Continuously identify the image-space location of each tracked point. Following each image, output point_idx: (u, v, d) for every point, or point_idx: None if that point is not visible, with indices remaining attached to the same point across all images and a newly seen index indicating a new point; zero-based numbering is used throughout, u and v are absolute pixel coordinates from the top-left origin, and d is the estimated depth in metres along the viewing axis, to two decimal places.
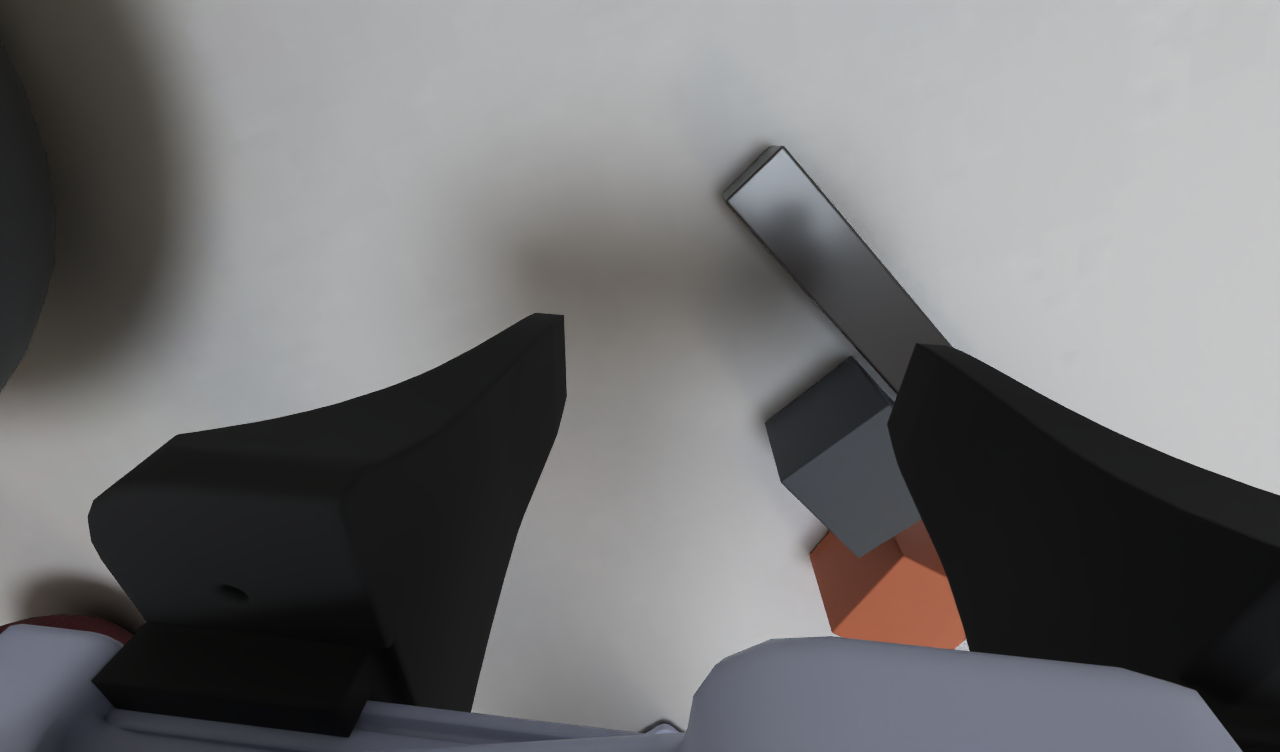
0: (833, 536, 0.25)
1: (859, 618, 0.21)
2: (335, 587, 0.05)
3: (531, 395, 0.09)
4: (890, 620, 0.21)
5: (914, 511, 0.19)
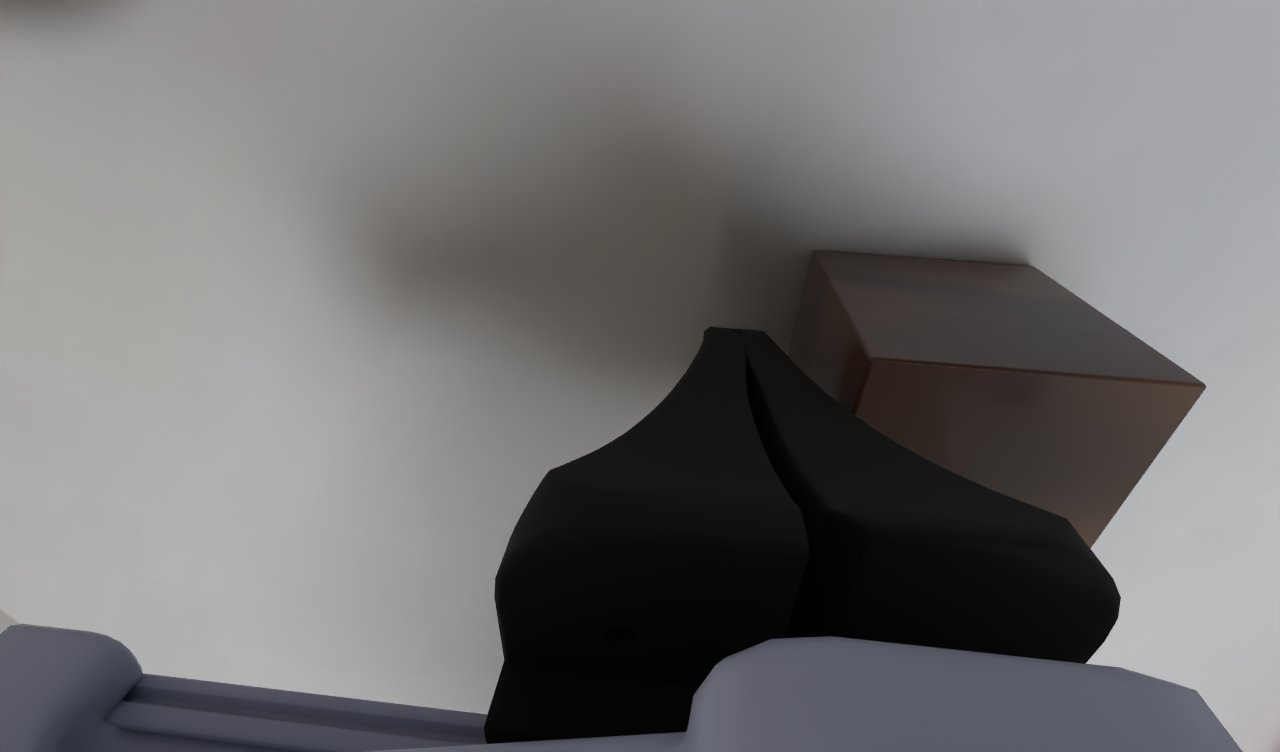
0: None
1: None
2: (749, 632, 0.05)
3: None
4: None
5: None
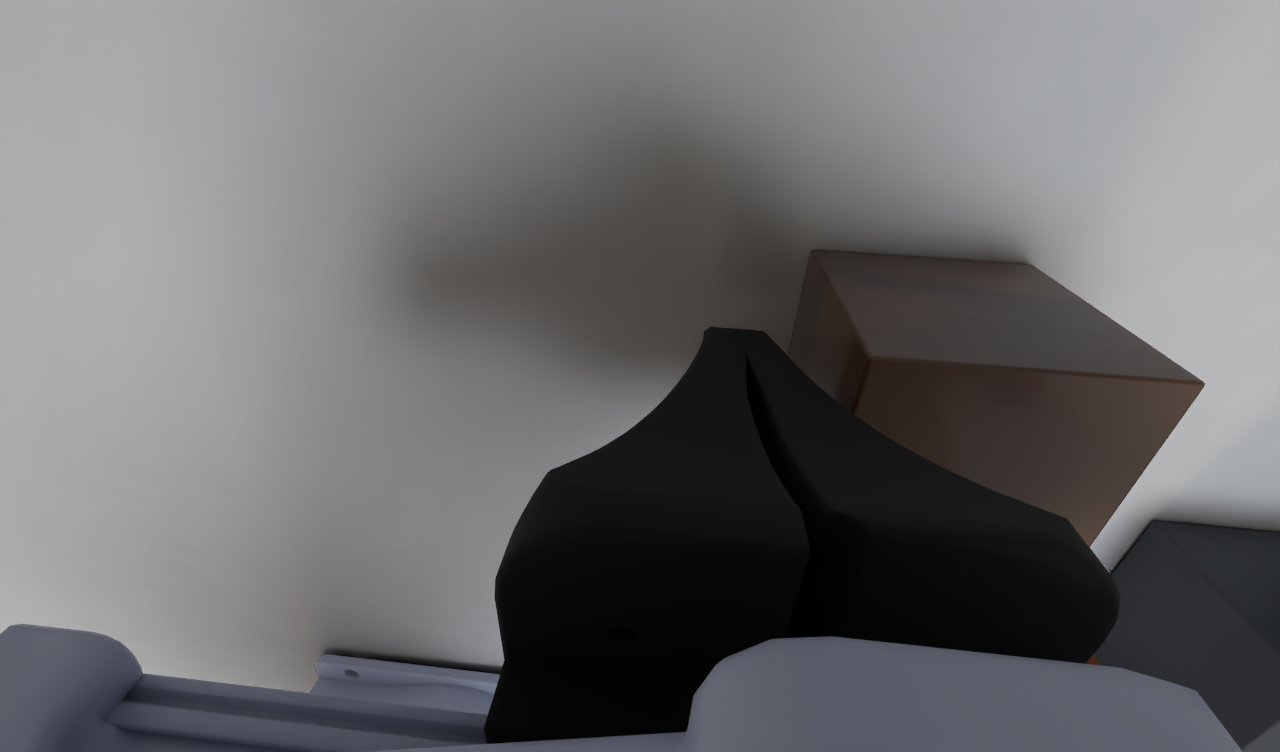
0: None
1: None
2: (750, 632, 0.05)
3: None
4: None
5: None
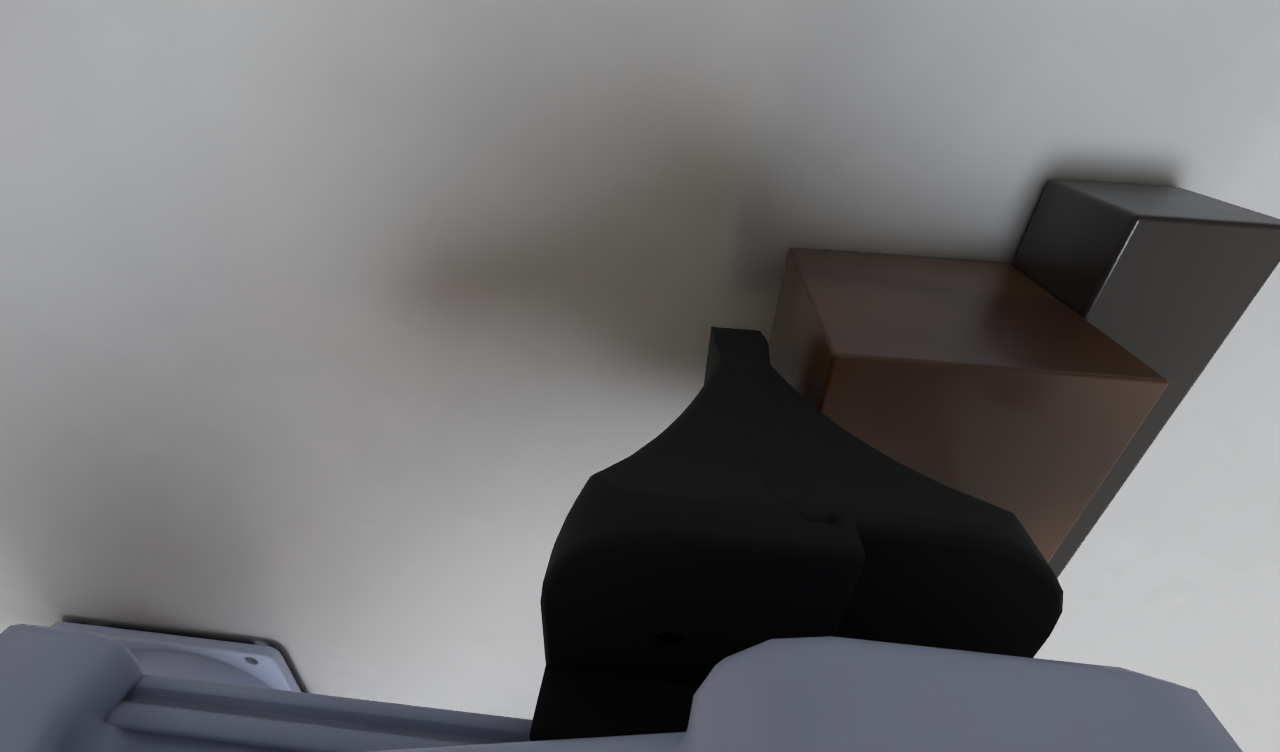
0: None
1: None
2: (798, 637, 0.04)
3: None
4: None
5: None
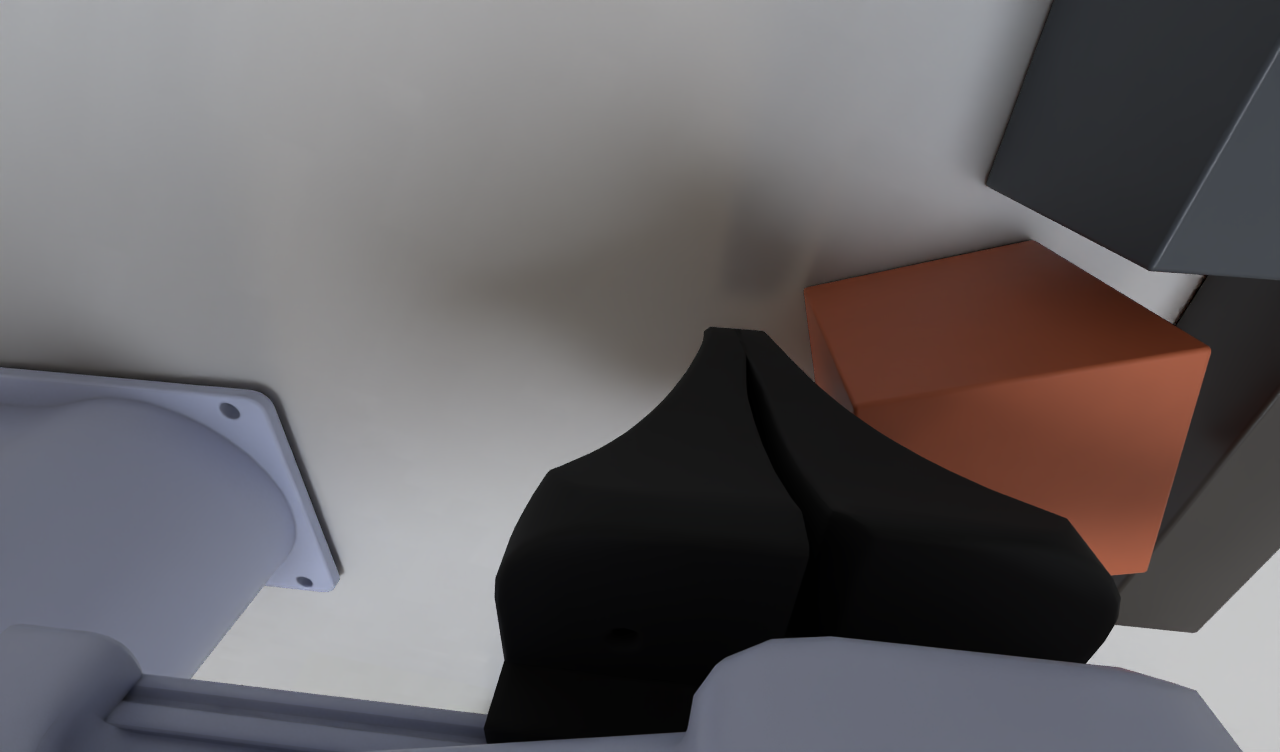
0: (896, 277, 0.11)
1: (940, 417, 0.08)
2: (750, 632, 0.05)
3: None
4: (976, 466, 0.08)
5: None
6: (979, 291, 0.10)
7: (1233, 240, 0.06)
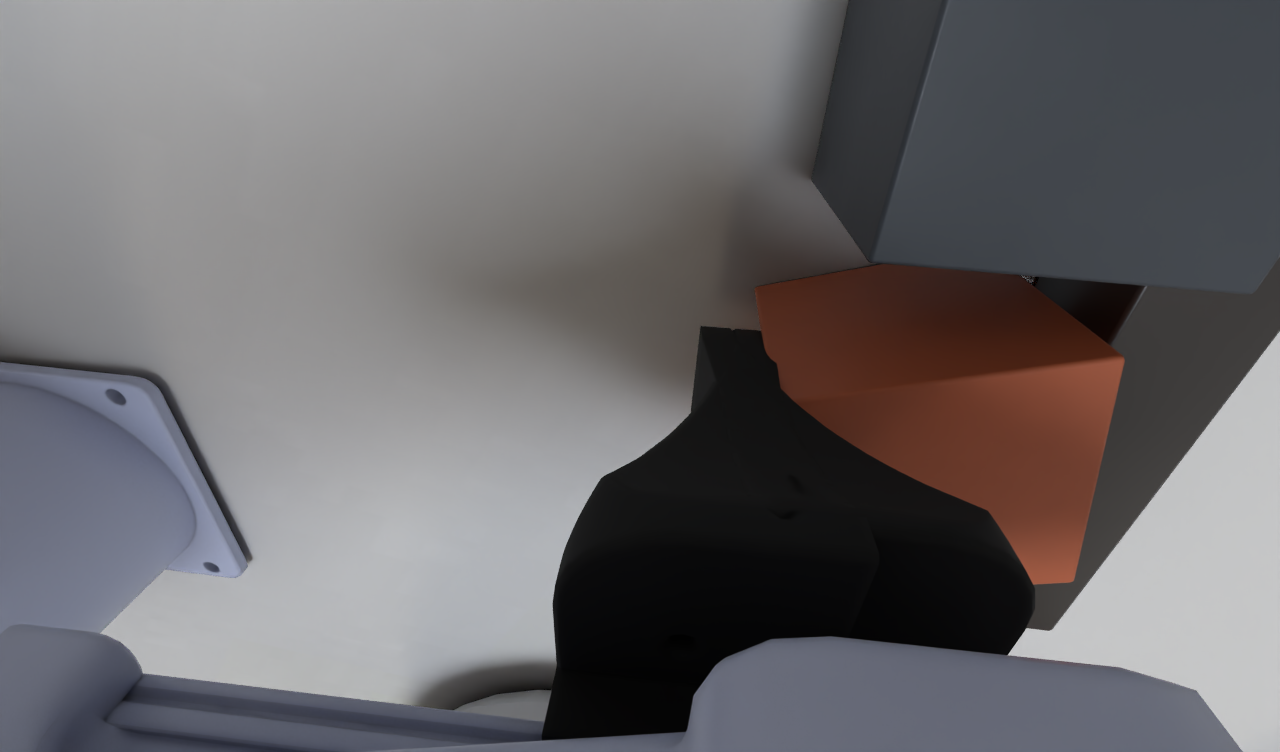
0: (844, 279, 0.11)
1: (860, 417, 0.08)
2: None
3: None
4: (897, 469, 0.08)
5: (1117, 245, 0.06)
6: (920, 295, 0.10)
7: (940, 233, 0.06)
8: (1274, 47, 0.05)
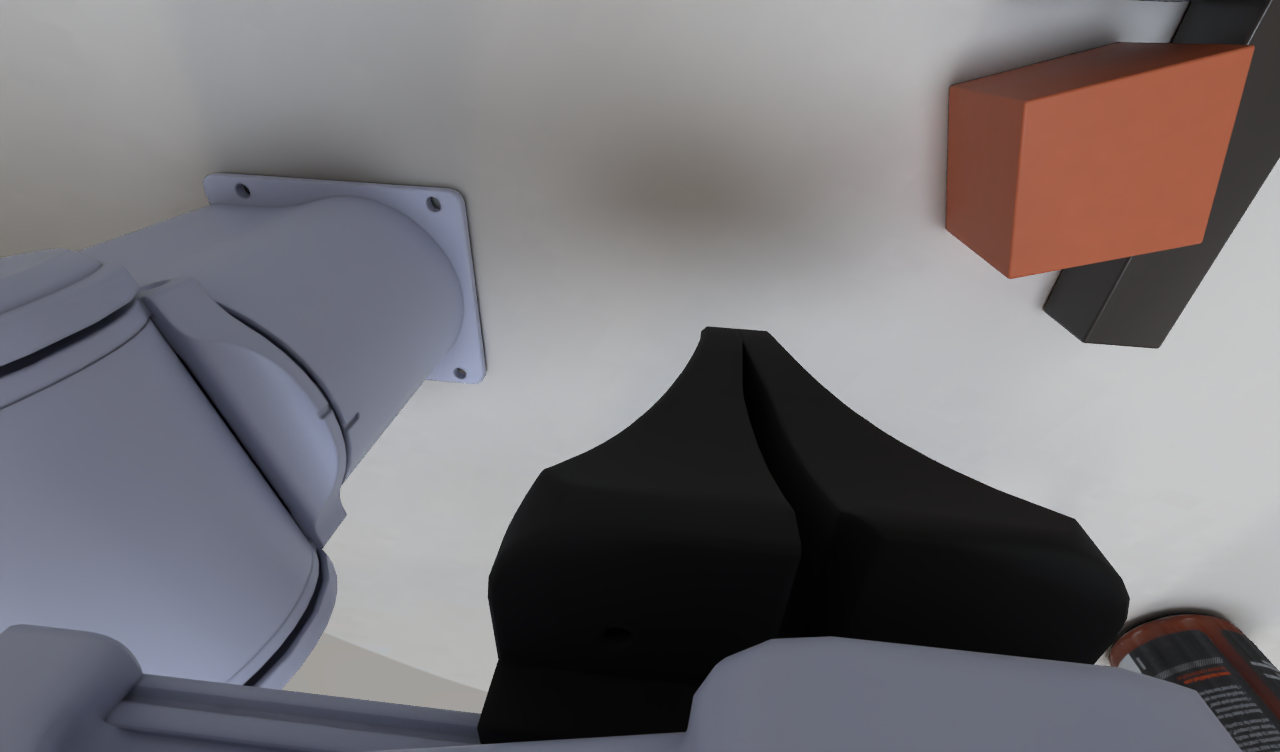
0: (1022, 69, 0.16)
1: (1080, 108, 0.13)
2: (743, 631, 0.05)
3: None
4: (1097, 151, 0.13)
5: None
6: (1090, 61, 0.14)
7: None
8: None
